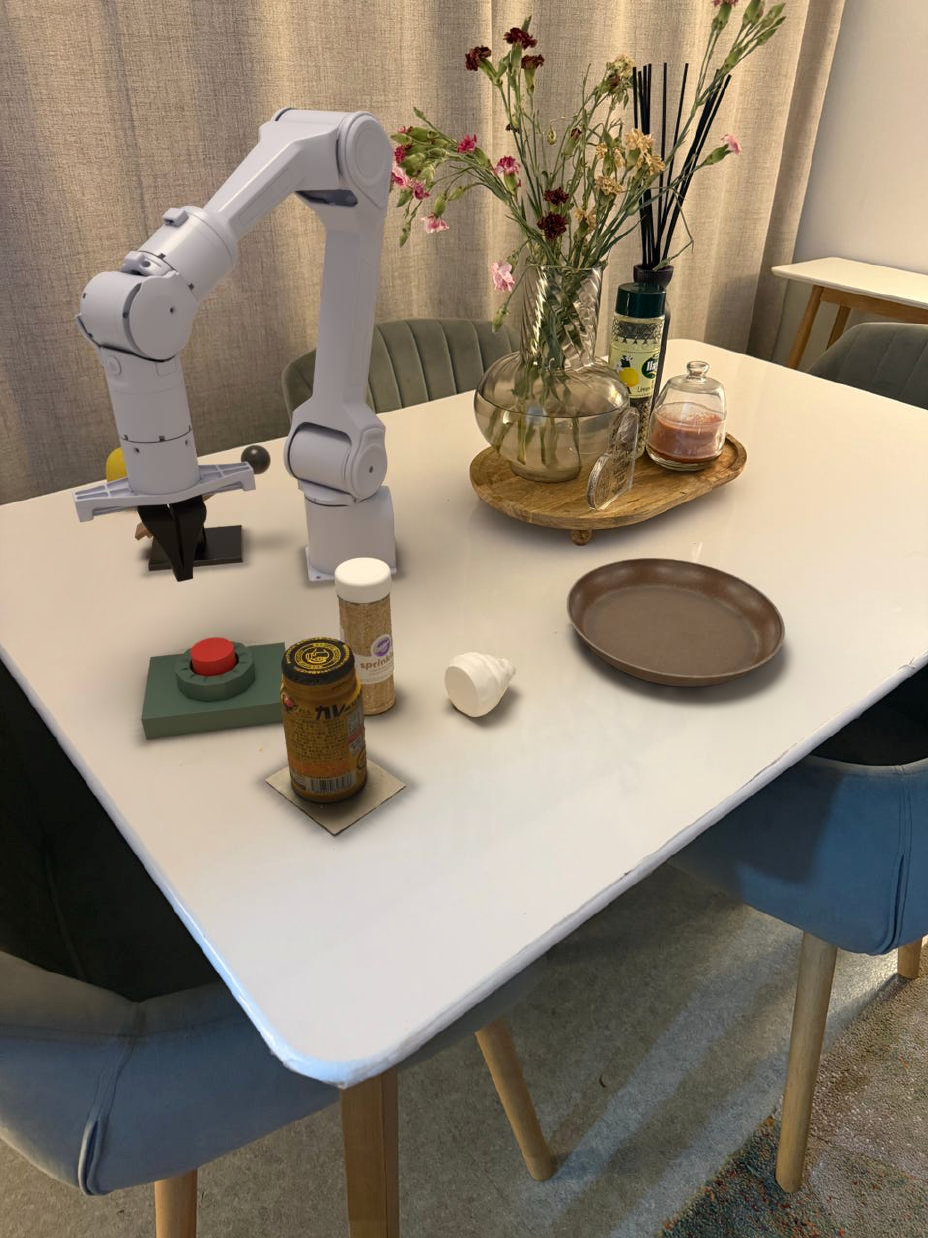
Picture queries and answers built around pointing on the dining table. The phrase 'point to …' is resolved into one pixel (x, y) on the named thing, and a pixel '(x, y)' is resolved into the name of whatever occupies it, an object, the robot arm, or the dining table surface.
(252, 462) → the lever
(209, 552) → the bracket
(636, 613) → the plant saucer
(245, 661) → the button box
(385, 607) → the sprinkles bottle
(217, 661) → the button
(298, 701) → the condiment
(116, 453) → the lemon
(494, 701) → the white meringue
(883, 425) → the dining table surface
